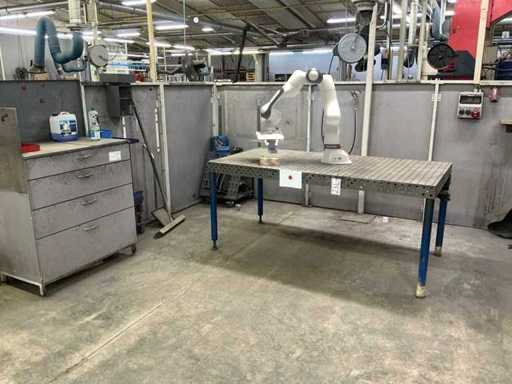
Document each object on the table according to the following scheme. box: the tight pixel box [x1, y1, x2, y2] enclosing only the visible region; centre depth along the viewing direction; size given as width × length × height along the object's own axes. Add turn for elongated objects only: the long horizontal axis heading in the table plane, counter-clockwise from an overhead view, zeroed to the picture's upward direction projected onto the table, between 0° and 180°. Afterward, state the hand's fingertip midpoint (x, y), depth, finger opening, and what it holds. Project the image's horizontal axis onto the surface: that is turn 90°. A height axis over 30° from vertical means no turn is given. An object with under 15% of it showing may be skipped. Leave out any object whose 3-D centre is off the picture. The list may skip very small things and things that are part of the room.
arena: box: [259, 155, 281, 167], centre depth 289 cm, size 14×14×5 cm
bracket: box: [267, 140, 278, 155], centre depth 288 cm, size 5×8×9 cm, turn 13°
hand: (271, 145), depth 290 cm, fingers closed on bracket, 5 cm apart
